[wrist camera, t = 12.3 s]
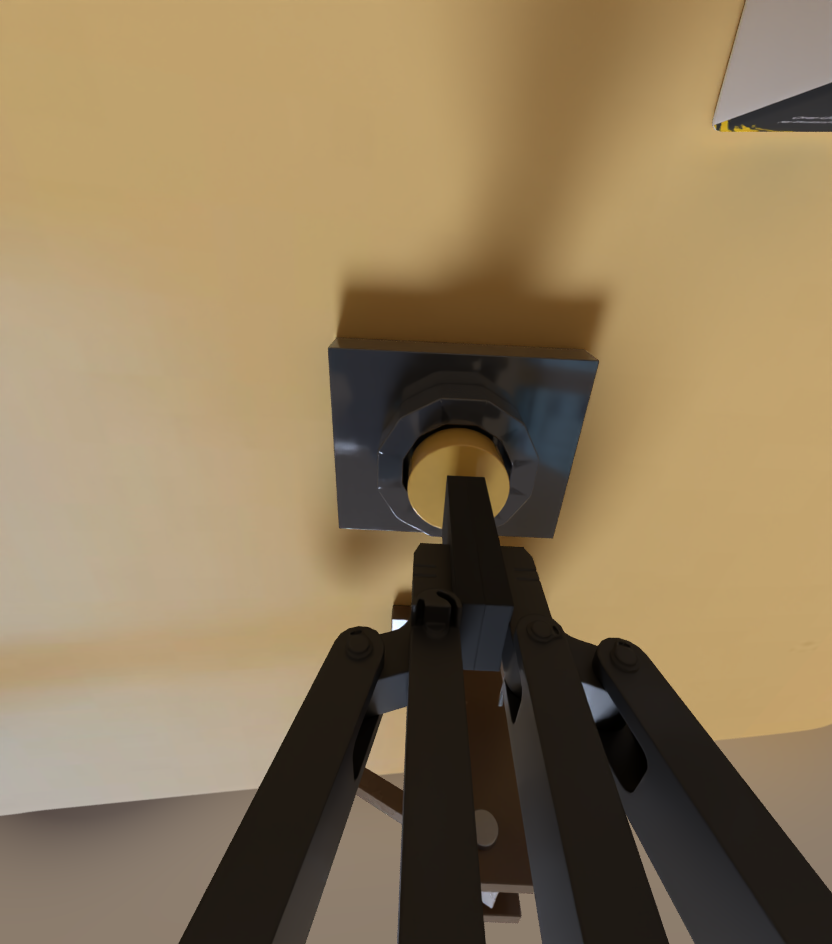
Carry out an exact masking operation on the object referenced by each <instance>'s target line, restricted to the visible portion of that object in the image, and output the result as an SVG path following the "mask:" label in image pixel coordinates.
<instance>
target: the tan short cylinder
mask: <svg viewBox="0 0 832 944" xmlns="http://www.w3.org/2000/svg"><path fill="white" fill-rule="evenodd" d="M447 475H452V476H472V477H485V480H486V485H487V489H488V493H489V498H490V502H491V506H492V511H493V515H494V517H495V516H496V515H497V514H498V513H499V512H500V511H501V510H502V508H503V507H504V505H505V503H506V501H507V498H508V495H509V489H510V482H509V477H508V473H507V470H506V467H505V464H504V461H503V458H502V455H501V453H500V451H499V449H498V447H497V446H496V445H495V444H494V442H493V441H492V440H490V439H489V438H488V437H487V436H485V435H483V434H482V433H480V432H477V431H475V430H471V429H467V428H449V429H445V430H441V431H438V432H436V433H434V434H432V435H430V436H428V437H427V438H426V439H424V440H423V441H422V442H421V443H420V444H419V445H418V446H417V448H416V449H415V451H414V452H413V454H412V457H411V459H410V463H409V472H408V486H407V490H408V498H409V501H410V504H411V506H412V507H413V509H414V511H415V512H416V513H417V514H418V515H419V516H420V517H421V518H422V519H423V520H424V521H426V522H427V523H429V524H430V525H433V526H435V527H437V528H441V529H442V524H443V513H444V502H445V491H446V481H447Z"/></svg>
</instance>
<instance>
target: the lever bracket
mask: <svg viewBox="0 0 832 944" xmlns="http://www.w3.org/2000/svg"><path fill="white" fill-rule="evenodd" d="M410 615H411V606H395V605H394V606H393V609H392V626H391V631H394V630H396V629H398V628H400V627H401V626H403V625H404V624H405V623H406V622H407V621H408V619H409V617H410ZM463 675H464V687H465V699H466V712H467V724H468V736H469V748H470V760H471V772H472V784H473V796H474V808H475V820H476V833H477V845H478V857H479V869H480V881H481V891H483V892H499V893H498V896H497V898H496V901H495V903H494V906H493V908H490V907H489V906H487V905H486V904H484V903H483V902H482V905H483V917H484V922H500V923H518V922H519V920H520V918H521V908H520V901H519V894H518V893H528V894H533V893H534V888H533V882H532V875H531V869H530V863H529V856H528V850H527V844H526V837H525V831H524V825H523V818H522V812H521V806H520V799H519V793H518V787H517V780H516V774H515V768H514V761H513V755H512V749H511V742H510V736H509V730H508V724H507V717H506V711H505V705H504V701H503V706H498V704H499V696H500V692H501V687H502V683H503V679H504V670H503V664H502V662H501V667H500V671H479V670H463Z"/></svg>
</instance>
